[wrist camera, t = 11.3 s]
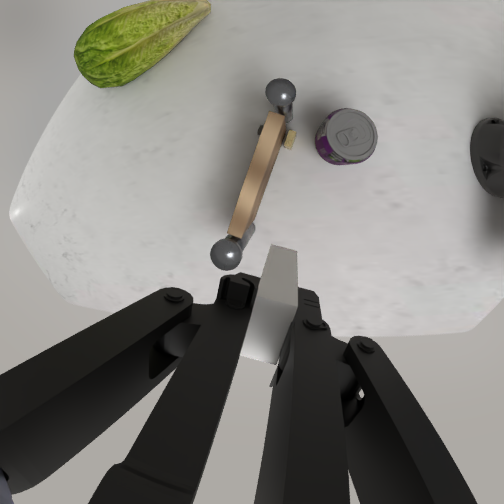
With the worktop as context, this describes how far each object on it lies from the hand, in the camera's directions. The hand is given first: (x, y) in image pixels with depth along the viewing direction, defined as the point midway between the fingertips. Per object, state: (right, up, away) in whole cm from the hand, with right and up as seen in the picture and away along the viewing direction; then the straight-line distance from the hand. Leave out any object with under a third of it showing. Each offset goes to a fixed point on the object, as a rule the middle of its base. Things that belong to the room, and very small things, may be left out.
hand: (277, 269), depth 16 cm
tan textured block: (+4, +18, +25) cm, 31 cm away
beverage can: (+12, +18, +24) cm, 32 cm away
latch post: (+4, +22, +24) cm, 33 cm away
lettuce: (-19, +39, +22) cm, 49 cm away
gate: (0, +13, +26) cm, 29 cm away
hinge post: (-2, +5, +30) cm, 30 cm away
